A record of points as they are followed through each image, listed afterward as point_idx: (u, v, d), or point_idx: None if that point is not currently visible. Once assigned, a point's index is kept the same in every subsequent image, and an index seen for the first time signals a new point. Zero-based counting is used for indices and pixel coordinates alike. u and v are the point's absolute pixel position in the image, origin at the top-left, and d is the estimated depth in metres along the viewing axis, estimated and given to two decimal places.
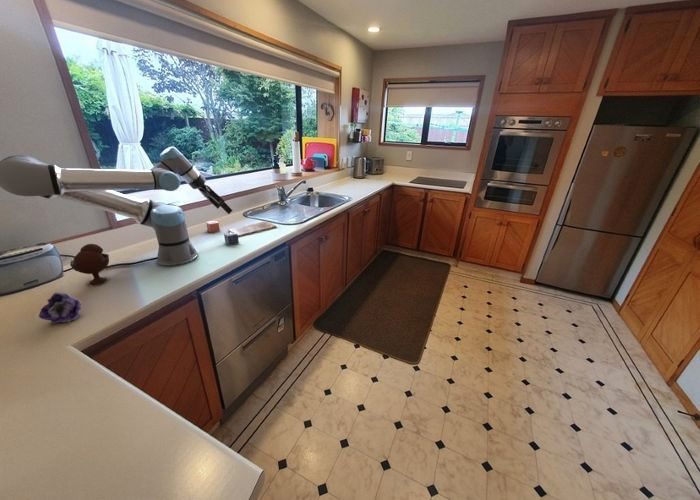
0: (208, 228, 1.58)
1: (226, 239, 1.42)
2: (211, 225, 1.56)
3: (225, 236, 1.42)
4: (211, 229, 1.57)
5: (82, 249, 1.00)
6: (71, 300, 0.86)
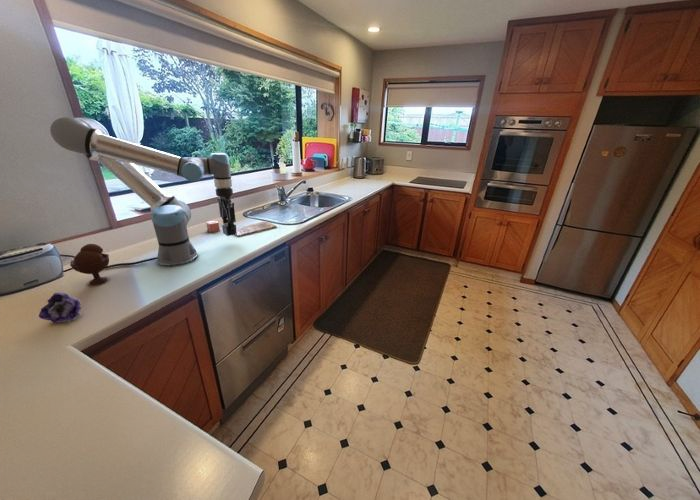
0: (208, 228, 1.58)
1: (224, 230, 1.40)
2: (211, 225, 1.56)
3: (223, 226, 1.40)
4: (211, 229, 1.57)
5: (82, 249, 1.00)
6: (71, 300, 0.86)
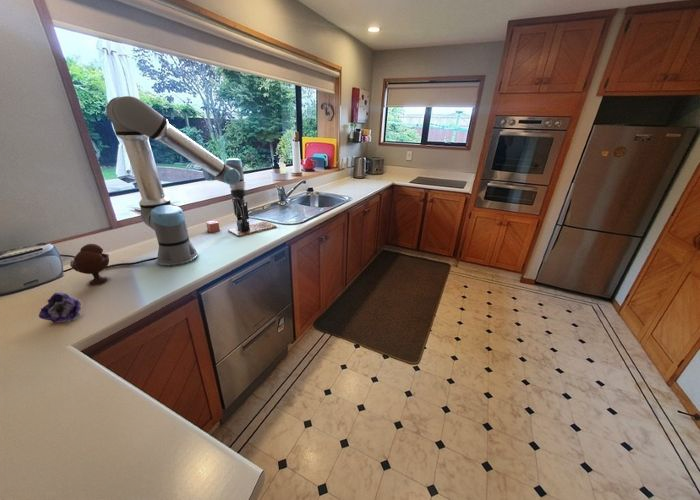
0: (208, 228, 1.58)
1: (238, 226, 1.58)
2: (211, 225, 1.56)
3: (237, 223, 1.58)
4: (211, 229, 1.57)
5: (82, 249, 1.00)
6: (71, 300, 0.86)
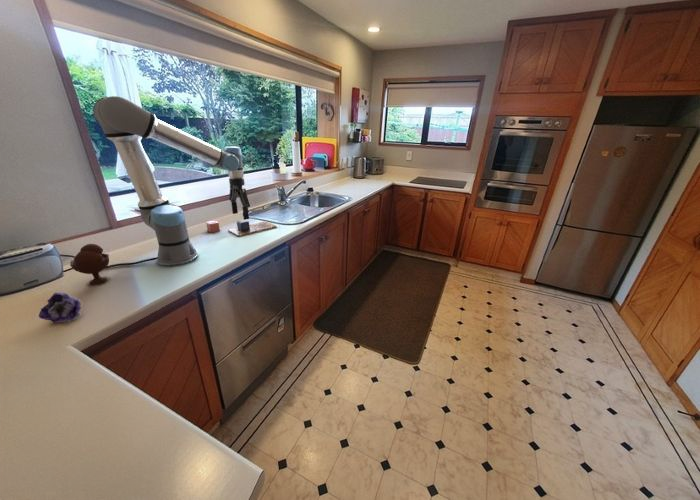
0: (208, 228, 1.58)
1: (238, 226, 1.58)
2: (211, 225, 1.56)
3: (238, 223, 1.58)
4: (211, 229, 1.57)
5: (82, 249, 1.00)
6: (71, 300, 0.86)
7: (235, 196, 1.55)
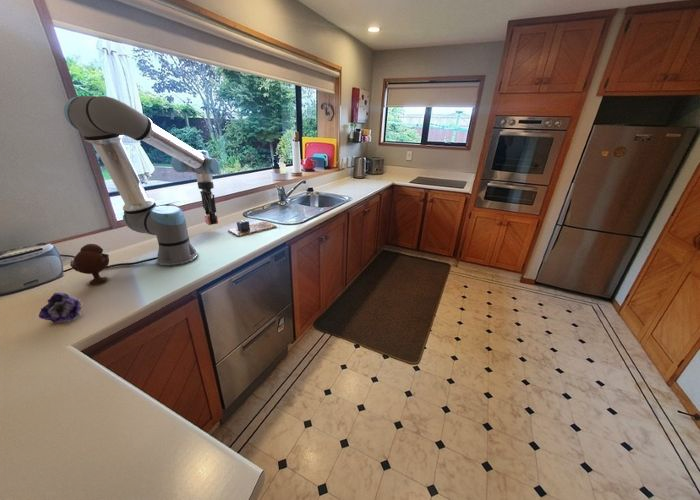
0: (206, 220, 1.56)
1: (238, 226, 1.58)
2: (209, 217, 1.54)
3: (238, 223, 1.58)
4: (209, 221, 1.55)
5: (82, 249, 1.00)
6: (71, 300, 0.86)
7: (207, 202, 1.55)
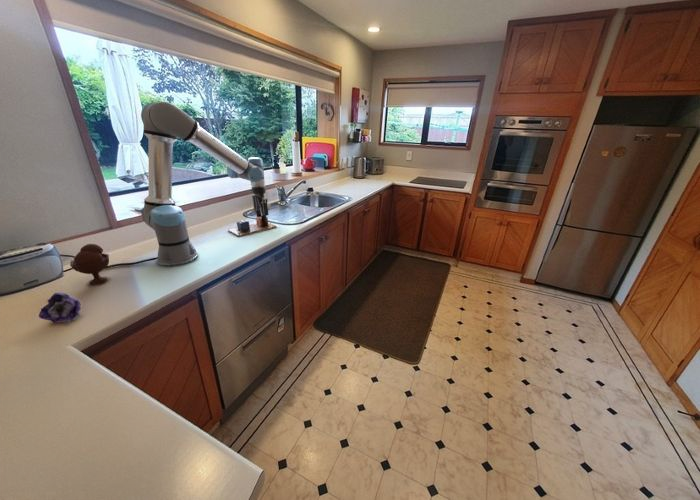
0: (258, 223, 1.66)
1: (238, 226, 1.58)
2: (261, 220, 1.64)
3: (238, 223, 1.58)
4: (261, 224, 1.65)
5: (82, 249, 1.00)
6: (71, 300, 0.86)
7: (258, 205, 1.65)
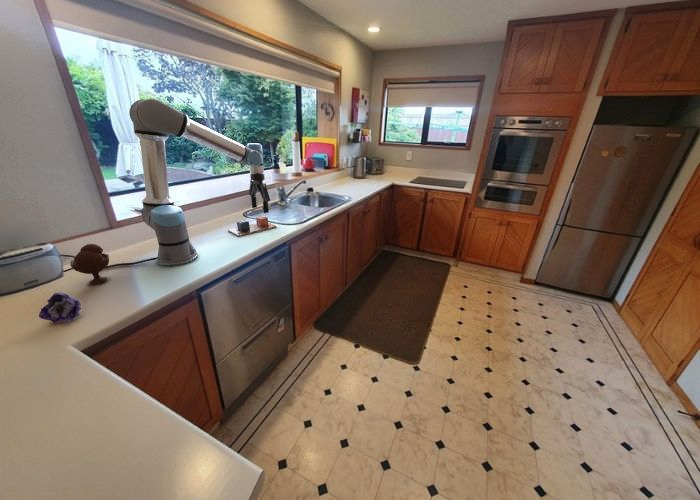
0: (258, 223, 1.66)
1: (238, 226, 1.58)
2: (261, 220, 1.64)
3: (238, 223, 1.58)
4: (261, 224, 1.65)
5: (82, 249, 1.00)
6: (71, 300, 0.86)
7: (255, 191, 1.63)
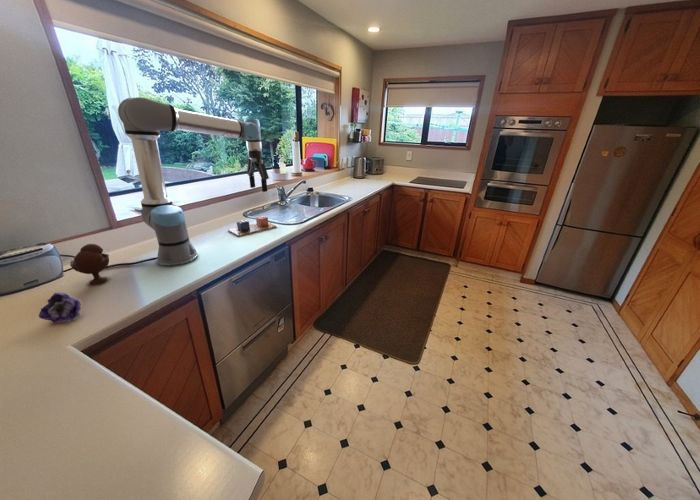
0: (258, 223, 1.66)
1: (238, 226, 1.58)
2: (261, 220, 1.64)
3: (238, 223, 1.58)
4: (261, 224, 1.65)
5: (82, 249, 1.00)
6: (71, 300, 0.86)
7: (253, 169, 1.58)
